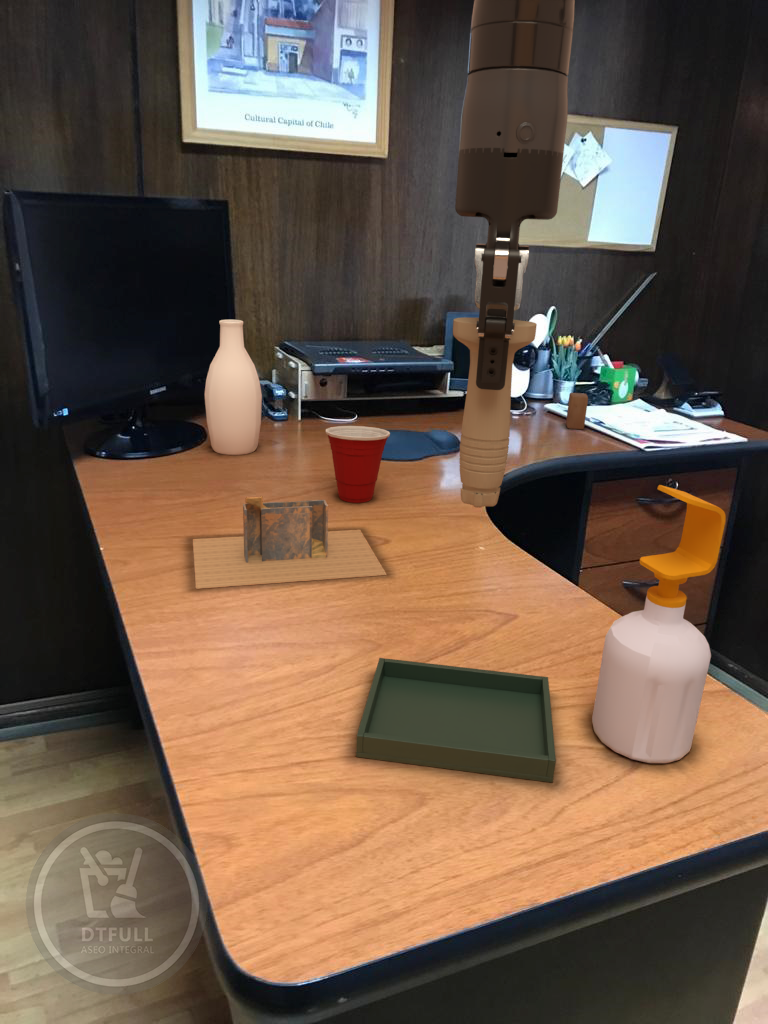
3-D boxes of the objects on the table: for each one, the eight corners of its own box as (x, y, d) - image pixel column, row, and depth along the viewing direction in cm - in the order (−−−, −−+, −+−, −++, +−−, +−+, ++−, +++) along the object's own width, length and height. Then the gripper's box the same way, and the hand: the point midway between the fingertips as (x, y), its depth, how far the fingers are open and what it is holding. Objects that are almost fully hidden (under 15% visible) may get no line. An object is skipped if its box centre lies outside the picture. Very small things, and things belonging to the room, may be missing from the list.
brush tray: (545, 696, 79) (548, 676, 78) (552, 782, 66) (556, 760, 65) (378, 676, 81) (379, 657, 80) (355, 757, 68) (356, 735, 68)
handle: (515, 516, 63) (535, 328, 57) (437, 507, 64) (449, 322, 59) (518, 497, 67) (537, 321, 62) (445, 489, 68) (457, 316, 63)
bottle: (262, 456, 152) (260, 325, 143) (204, 457, 151) (199, 324, 142) (262, 441, 163) (260, 318, 154) (208, 441, 161) (203, 316, 152)
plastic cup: (390, 489, 137) (393, 423, 133) (383, 510, 127) (386, 439, 123) (330, 484, 138) (331, 419, 134) (318, 505, 128) (319, 434, 124)
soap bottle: (572, 717, 75) (608, 477, 67) (647, 699, 79) (691, 469, 70) (632, 775, 68) (681, 513, 59) (712, 753, 71) (770, 502, 62)
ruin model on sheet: (195, 588, 98) (192, 517, 94) (192, 539, 113) (189, 475, 109) (386, 574, 104) (390, 507, 100) (360, 529, 119) (362, 469, 115)
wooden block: (566, 428, 184) (571, 395, 182) (565, 424, 188) (569, 392, 185) (583, 430, 184) (588, 396, 181) (582, 426, 188) (586, 393, 185)
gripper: (464, 155, 63) (449, 364, 69) (453, 135, 50) (436, 397, 56) (557, 157, 62) (534, 369, 68) (571, 139, 49) (542, 404, 55)
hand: (490, 380), depth 62 cm, fingers closed on handle, 5 cm apart
